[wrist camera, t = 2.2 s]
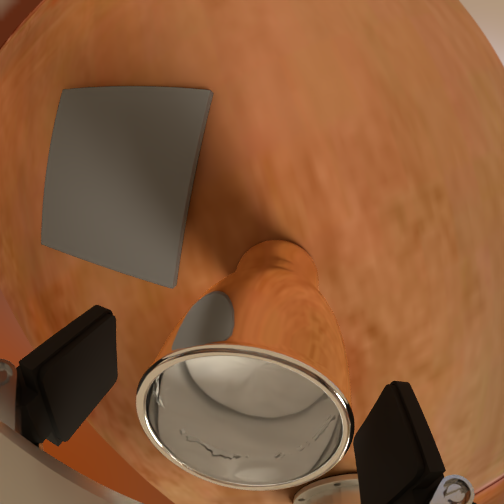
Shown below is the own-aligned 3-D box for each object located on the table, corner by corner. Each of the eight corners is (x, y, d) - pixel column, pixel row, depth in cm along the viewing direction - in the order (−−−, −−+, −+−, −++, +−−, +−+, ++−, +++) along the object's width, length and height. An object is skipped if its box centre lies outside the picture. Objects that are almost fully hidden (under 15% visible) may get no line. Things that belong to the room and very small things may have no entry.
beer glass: (278, 212, 21) (235, 277, 6) (343, 282, 21) (403, 438, 7) (211, 277, 22) (96, 405, 8) (274, 339, 23) (241, 507, 8)
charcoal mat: (213, 93, 19) (210, 90, 19) (176, 285, 23) (172, 288, 22) (68, 91, 21) (62, 89, 20) (46, 242, 24) (41, 244, 24)
